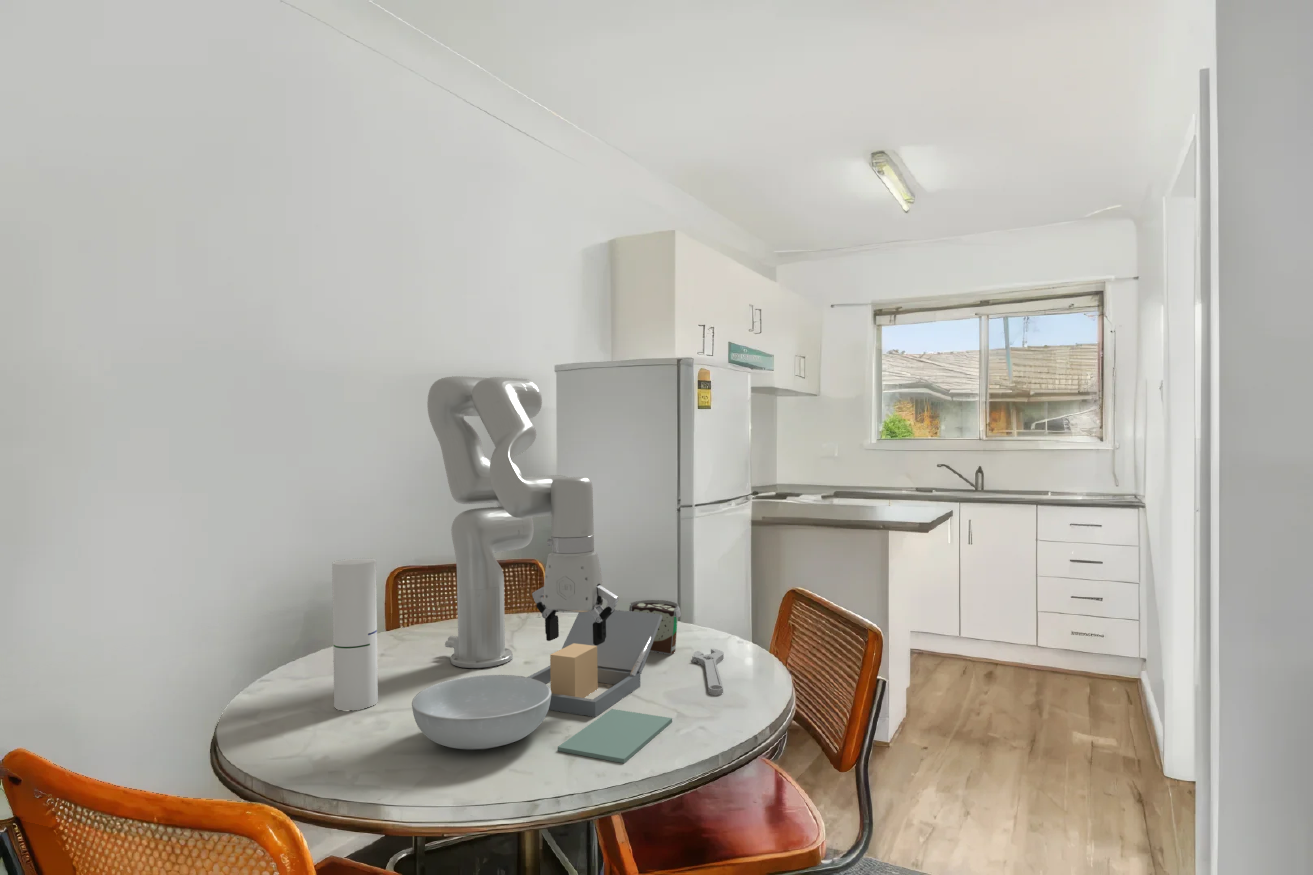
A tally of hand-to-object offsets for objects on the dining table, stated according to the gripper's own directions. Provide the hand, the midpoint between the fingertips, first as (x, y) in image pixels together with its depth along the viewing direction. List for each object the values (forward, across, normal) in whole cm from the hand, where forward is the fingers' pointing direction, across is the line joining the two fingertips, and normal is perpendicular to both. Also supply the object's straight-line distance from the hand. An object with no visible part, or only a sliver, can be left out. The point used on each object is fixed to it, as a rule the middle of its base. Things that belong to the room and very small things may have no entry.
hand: (575, 641), depth 137 cm
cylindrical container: (+9, -34, -19) cm, 40 cm away
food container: (+10, +1, +33) cm, 35 cm away
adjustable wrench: (+10, +17, +21) cm, 29 cm away
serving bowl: (+10, -3, -22) cm, 25 cm away
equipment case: (+10, -1, +5) cm, 11 cm away
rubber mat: (+10, +15, -14) cm, 23 cm away
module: (+10, -1, 0) cm, 10 cm away
